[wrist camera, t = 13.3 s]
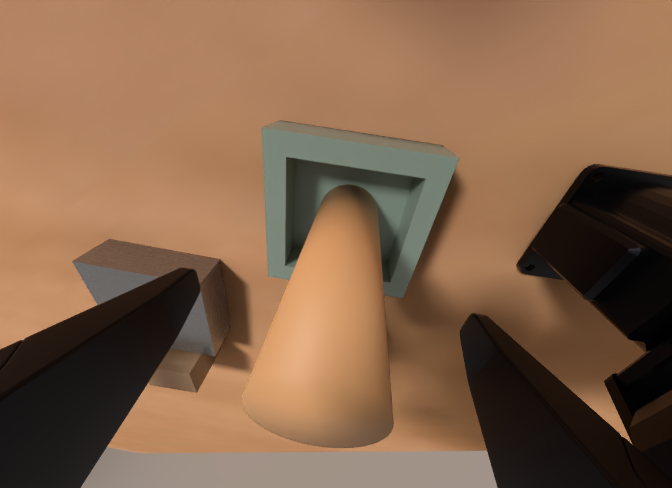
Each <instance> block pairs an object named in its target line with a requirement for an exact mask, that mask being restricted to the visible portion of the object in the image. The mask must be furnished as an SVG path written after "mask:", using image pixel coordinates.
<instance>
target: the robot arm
mask: <svg viewBox="0 0 672 488" xmlns="http://www.w3.org/2000/svg"><path fill="white" fill-rule="evenodd" d="M595 173H597V175H596V176H595V177H594V178H593V179H591V178H592V176H593V175H594V174H595ZM527 265H529V266H527ZM526 266H527V267H526ZM517 267H518V268H519V270H520V271H521V272H522V273H524V274H529V275H535V276H541V277H548V278H554V279H560V280H565V281H566V282H567V283H568V284H569V285H570V286H571V287H572V288H573V289H574V290H575V291H576V292H577V293H578V294H579V295H581V296H582V297H583V298H584V299H586V300H588V301H589V302H590V303H591V304H592V305H593V306H594V307H595V308H596V309H597V310H598V311H599V312H600V313H601V314H602V315H603V316H605V317H606V318H607V319H608V320H609V321H610V322H611V323H612V324H613V325H614V326H615V327H616V328H617V329H618V330H619V331H620V332H621V333H622V334H623V335H624V336H625V337H627V338H628V339H629V340H633V341H634V342H635V343H636V344H637V345H638V346H639V347H640V348H641V349H642V350H643V351H644V352H645V354H644V355H642V356H641V357H640V358H638V359H637V360H636V361H634V362H633V363H632V364H630V365H629V366H628V367H626V368H625V369H624V370H622V371H621V372H620V373H618V374H616V373H615V374H612V375H611V376H609V377H608V378H607V379H606V380H605V381H604V383H605V385H606V387H607V389H608V392H609V394H610V396H611V398H612V400H613V403H614V405H615V407H616V409H617V411H618V414H619V416H620V418H621V420H622V422H623V424H624V427H625V429H626V431H627V433H628V435H629V438H630V440H631V442H632V444H633V445H632V444H631V443H630V442H629V441H628V440H626V439H625V438H624V437H621V435H620V434H619V433H618V432H617V431H616V430H615V429H614V428H613V427H612V426H611V425H609V424H608V423H607V422H606V421H605V420H604V419H603V418H602V417H600V416H599V415H598V414H597V413H596V412H595V411H594V410H592V409H591V408H590V407H589V406H588V405H587V404H586V403H585V402H583V401H582V400H581V399H580V398H579V397H578V396H577V395H576V394H574V393H573V392H572V391H571V390H570V389H569V388H568V387H567V386H565V385H564V384H563V383H562V382H561V381H560V380H559V379H558V378H556V377H555V376H554V375H553V374H552V373H551V372H550V371H548V370H547V369H546V368H545V367H544V366H543V365H542V364H541V363H539V362H538V361H537V360H536V359H535V358H534V357H533V356H532V355H530V354H529V353H528V352H527V351H526V350H525V349H524V348H523V347H521V346H520V345H519V344H518V343H517V342H516V341H515V340H513V339H512V338H511V337H510V336H509V335H508V334H507V333H506V332H504V331H503V330H502V329H501V328H500V327H499V326H498V325H497V324H495V323H494V322H493V321H492V320H491V319H490V318H489V317H487V316H486V315H482V314H476V313H472V314H471V315H470V316H469V317H468V319H467V320H466V322H465V323H464V325H463V326H462V328H461V330H460V339H461V345H462V350H463V356H464V362H465V368H466V373H467V379H468V383H469V387H470V391H471V395H472V398H473V402H474V405H475V409H476V413H477V416H478V420H479V423H480V427H481V430H482V434H483V437H484V441H485V445H486V448H487V452H488V455H489V459H490V462H491V466H492V469H493V473H494V477H495V480H496V483H497V487H498V488H672V175H666V174H660V173H653V172H647V171H640V170H634V169H627V168H620V167H614V166H607V165H601V164H593V165H591V166H588V167H587V168H585V169H584V170H583V171H582V172H581V173H580V175H579V176H578V177H577V179H576V180H575V182H574V183H573V185H572V186H571V187H570V189H569V190H568V192H567V193H566V195H565V196H564V197H563V199H562V200H561V202H560V203H559V205H558V206H557V207H556V209H555V210H554V212H553V213H552V215H551V216H550V217H549V219H548V220H547V222H546V223H545V225H544V226H543V227H542V229H541V230H540V232H539V233H538V235H537V236H536V237H535V239H534V240H533V242H532V243H531V245H530V246H529V247H528V249H527V250H526V252H525V253H524V255H523V256H522V257H521V259H520V260H519V262H518V264H517ZM200 290H201V287H200V283H199V279H198V275H197V272H196V270H195V269H192V268H185V267H181V268H178V269H176V270H174V271H172V272H169V273H167V274H165V275H163V276H161V277H158V278H156V279H154V280H152V281H150V282H147V283H145V284H143V285H141V286H139V287H137V288H134V289H132V290H130V291H128V292H126V293H123V294H121V295H119V296H117V297H115V298H112V299H110V300H108V301H106V302H104V303H101V304H99V305H97V306H95V307H93V308H90V309H88V310H86V311H84V312H82V313H79V314H77V315H75V316H73V317H71V318H68V319H66V320H64V321H62V322H60V323H57V324H55V325H53V326H51V327H49V328H46V329H44V330H42V331H40V332H38V333H35V334H33V335H31V336H29V337H27V338H25V339H24V340H20V341H18V342H15V343H13V344H11V345H9V346H7V347H5V348H2V349H0V488H81V486H82V484H83V483H84V482H85V480H86V478H87V477H88V475H89V474H90V472H91V470H92V469H93V467H94V466H95V464H96V463H97V461H98V460H99V458H100V457H101V455H102V453H103V452H104V450H105V449H106V447H107V446H108V444H109V443H110V441H111V440H112V438H113V437H114V435H115V433H116V432H117V430H118V429H119V427H120V426H121V424H122V423H123V421H124V419H125V418H126V416H127V415H128V413H129V412H130V410H131V409H132V407H133V405H134V404H135V402H136V401H137V399H138V398H139V396H140V395H141V393H142V391H143V390H144V388H145V387H146V385H147V384H148V382H149V381H150V379H151V378H152V376H153V374H154V373H155V371H156V370H157V368H158V367H159V365H160V364H161V362H162V360H163V359H164V357H165V356H166V354H167V353H168V351H169V350H170V348H171V346H172V345H173V343H174V342H175V340H176V338H177V337H178V335H179V333H180V331H181V330H182V328H183V326H184V324H185V322H186V320H187V318H188V316H189V314H190V312H191V310H192V308H193V306H194V304H195V302H196V300H197V298H198V296H199V294H200Z"/></svg>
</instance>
